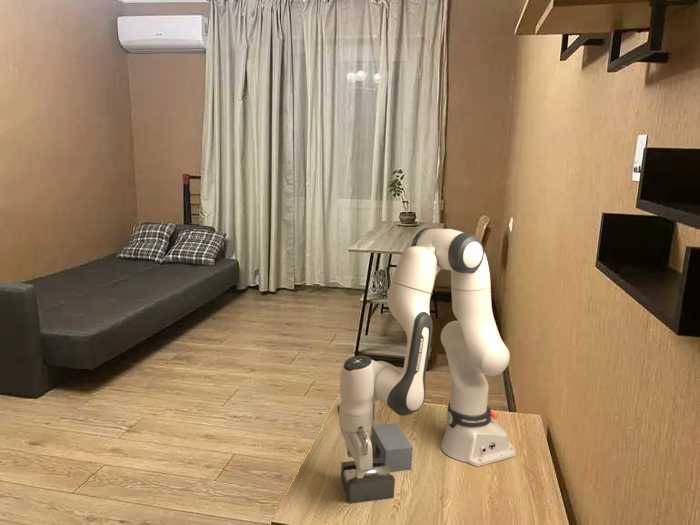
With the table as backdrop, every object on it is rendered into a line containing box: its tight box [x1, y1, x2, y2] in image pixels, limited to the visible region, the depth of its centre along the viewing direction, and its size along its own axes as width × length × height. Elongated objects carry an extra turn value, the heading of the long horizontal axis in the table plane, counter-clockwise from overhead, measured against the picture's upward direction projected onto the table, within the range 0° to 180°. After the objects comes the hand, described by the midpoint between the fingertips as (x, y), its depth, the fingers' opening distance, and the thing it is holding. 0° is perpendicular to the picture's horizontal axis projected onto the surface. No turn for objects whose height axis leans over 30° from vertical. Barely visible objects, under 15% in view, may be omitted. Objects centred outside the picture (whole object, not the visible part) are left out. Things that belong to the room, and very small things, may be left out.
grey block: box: [370, 422, 413, 473], centre depth 155 cm, size 8×14×7 cm, turn 14°
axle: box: [344, 465, 391, 482], centre depth 140 cm, size 12×3×3 cm, turn 104°
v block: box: [340, 457, 396, 504], centre depth 140 cm, size 12×10×6 cm
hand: (354, 465), depth 139 cm, fingers open, 8 cm apart
